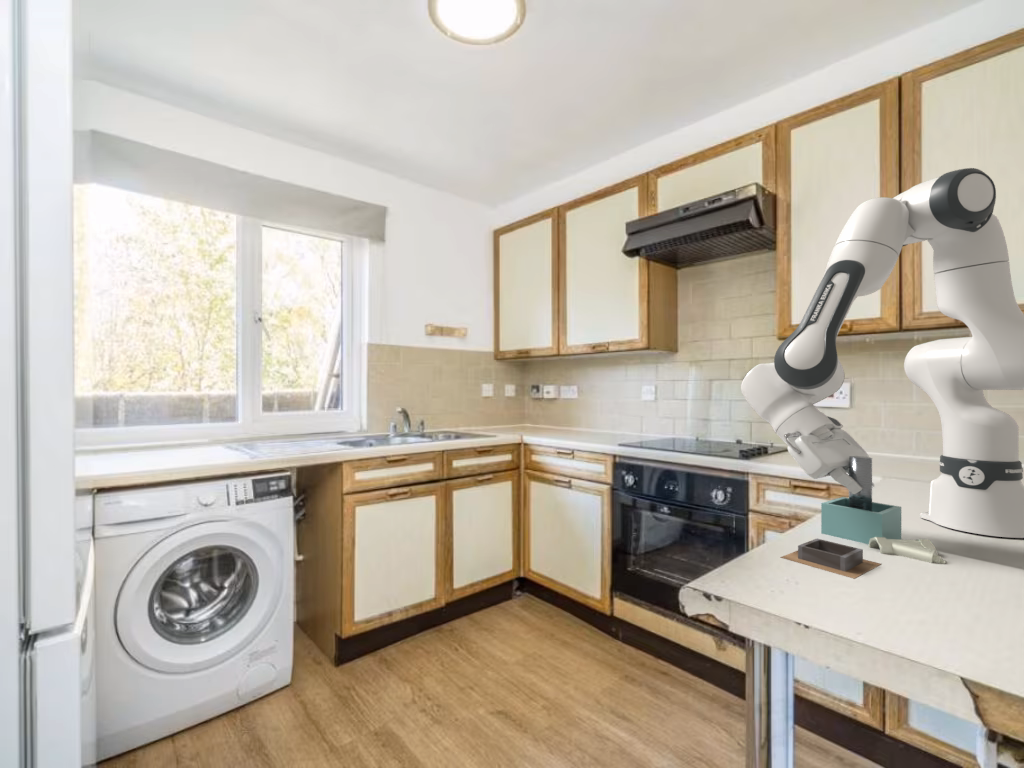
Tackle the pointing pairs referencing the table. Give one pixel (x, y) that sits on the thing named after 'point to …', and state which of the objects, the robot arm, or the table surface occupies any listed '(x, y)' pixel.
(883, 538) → the pipe fitting
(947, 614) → the table surface
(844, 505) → the bin
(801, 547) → the mount plate
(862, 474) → the strut
